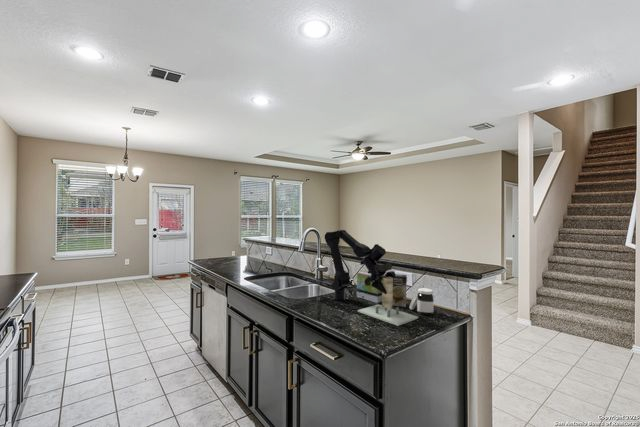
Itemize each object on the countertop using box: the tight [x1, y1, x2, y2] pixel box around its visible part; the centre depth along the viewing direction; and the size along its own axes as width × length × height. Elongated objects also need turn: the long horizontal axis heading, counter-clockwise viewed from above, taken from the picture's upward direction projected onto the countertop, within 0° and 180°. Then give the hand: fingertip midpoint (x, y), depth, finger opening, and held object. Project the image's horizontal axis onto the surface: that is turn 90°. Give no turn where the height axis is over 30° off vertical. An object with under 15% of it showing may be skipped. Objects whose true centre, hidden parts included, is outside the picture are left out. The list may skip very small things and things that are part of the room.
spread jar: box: [408, 287, 435, 316], centre depth 155 cm, size 12×11×12 cm
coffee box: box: [392, 273, 408, 308], centre depth 167 cm, size 9×6×16 cm
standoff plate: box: [357, 304, 419, 327], centre depth 150 cm, size 24×16×4 cm, turn 40°
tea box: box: [356, 270, 386, 304], centre depth 178 cm, size 15×10×15 cm
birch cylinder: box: [381, 277, 393, 309], centre depth 150 cm, size 5×5×14 cm
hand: (389, 292), depth 149 cm, fingers closed on birch cylinder, 5 cm apart
